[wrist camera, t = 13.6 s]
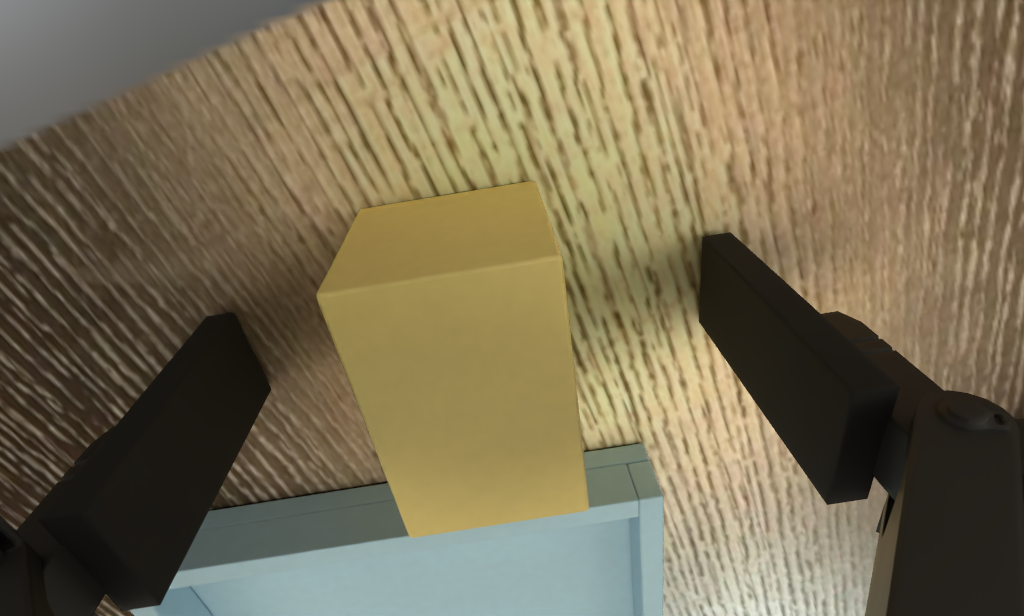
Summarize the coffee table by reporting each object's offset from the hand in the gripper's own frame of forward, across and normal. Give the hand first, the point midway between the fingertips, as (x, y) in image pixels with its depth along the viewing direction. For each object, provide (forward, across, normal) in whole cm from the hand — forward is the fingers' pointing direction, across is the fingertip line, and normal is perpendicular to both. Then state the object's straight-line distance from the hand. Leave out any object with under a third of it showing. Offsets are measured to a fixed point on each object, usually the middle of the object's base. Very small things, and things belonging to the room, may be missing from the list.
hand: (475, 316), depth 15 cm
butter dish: (0, -4, -13) cm, 14 cm away
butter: (0, 0, 0) cm, 0 cm away
